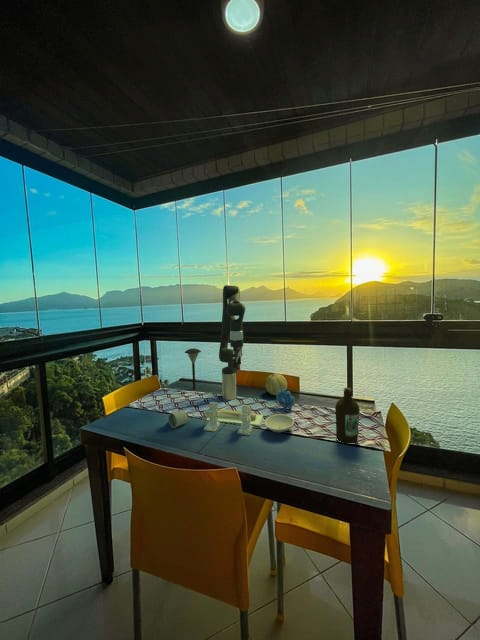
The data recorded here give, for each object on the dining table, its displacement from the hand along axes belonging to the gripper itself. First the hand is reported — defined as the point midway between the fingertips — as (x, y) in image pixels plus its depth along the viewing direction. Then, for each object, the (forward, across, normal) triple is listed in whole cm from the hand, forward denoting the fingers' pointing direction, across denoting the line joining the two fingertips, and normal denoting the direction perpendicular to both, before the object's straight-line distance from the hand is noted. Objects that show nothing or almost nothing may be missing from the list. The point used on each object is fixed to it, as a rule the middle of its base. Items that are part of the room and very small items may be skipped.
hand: (237, 366), depth 162 cm
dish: (+28, +16, +26) cm, 42 cm away
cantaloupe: (+28, -34, +18) cm, 48 cm away
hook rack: (+28, +20, 0) cm, 34 cm away
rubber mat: (+28, +7, 0) cm, 29 cm away
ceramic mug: (+28, +21, -29) cm, 46 cm away
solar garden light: (+28, -32, -42) cm, 60 cm away
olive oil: (+28, +18, +58) cm, 67 cm away
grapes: (+28, -11, +26) cm, 40 cm away
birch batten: (+28, +7, 0) cm, 28 cm away
